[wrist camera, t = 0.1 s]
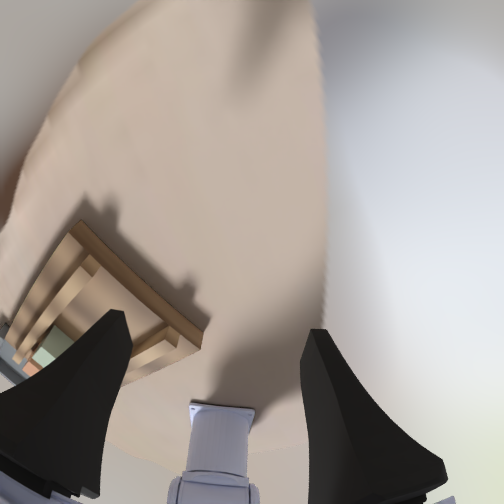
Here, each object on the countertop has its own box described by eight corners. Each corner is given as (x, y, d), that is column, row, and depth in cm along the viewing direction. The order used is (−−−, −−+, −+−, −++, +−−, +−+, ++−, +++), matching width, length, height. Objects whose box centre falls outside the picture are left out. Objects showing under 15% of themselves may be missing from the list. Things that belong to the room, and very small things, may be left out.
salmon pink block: (40, 342, 25) (28, 361, 22) (80, 374, 27) (71, 394, 24) (32, 351, 26) (21, 369, 23) (69, 381, 28) (60, 399, 26)
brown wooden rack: (81, 219, 19) (57, 242, 16) (203, 332, 25) (197, 363, 22) (11, 328, 27) (-1, 346, 24) (88, 391, 33) (80, 410, 30)
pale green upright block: (54, 325, 23) (41, 346, 20) (100, 362, 25) (90, 384, 23) (43, 337, 24) (31, 357, 22) (85, 371, 26) (76, 391, 24)
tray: (5, 322, 27) (-3, 333, 25) (95, 396, 33) (90, 408, 31) (-8, 352, 32) (-13, 361, 30) (62, 409, 38) (59, 418, 36)
